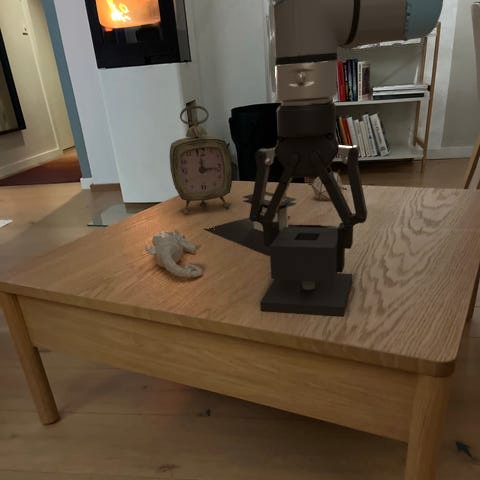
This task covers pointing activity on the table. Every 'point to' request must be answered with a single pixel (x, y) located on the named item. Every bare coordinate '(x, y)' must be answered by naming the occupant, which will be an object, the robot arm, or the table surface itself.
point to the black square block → (305, 254)
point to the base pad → (308, 296)
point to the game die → (320, 188)
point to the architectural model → (256, 225)
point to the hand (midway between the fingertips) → (307, 267)
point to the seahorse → (173, 253)
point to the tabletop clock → (200, 165)
